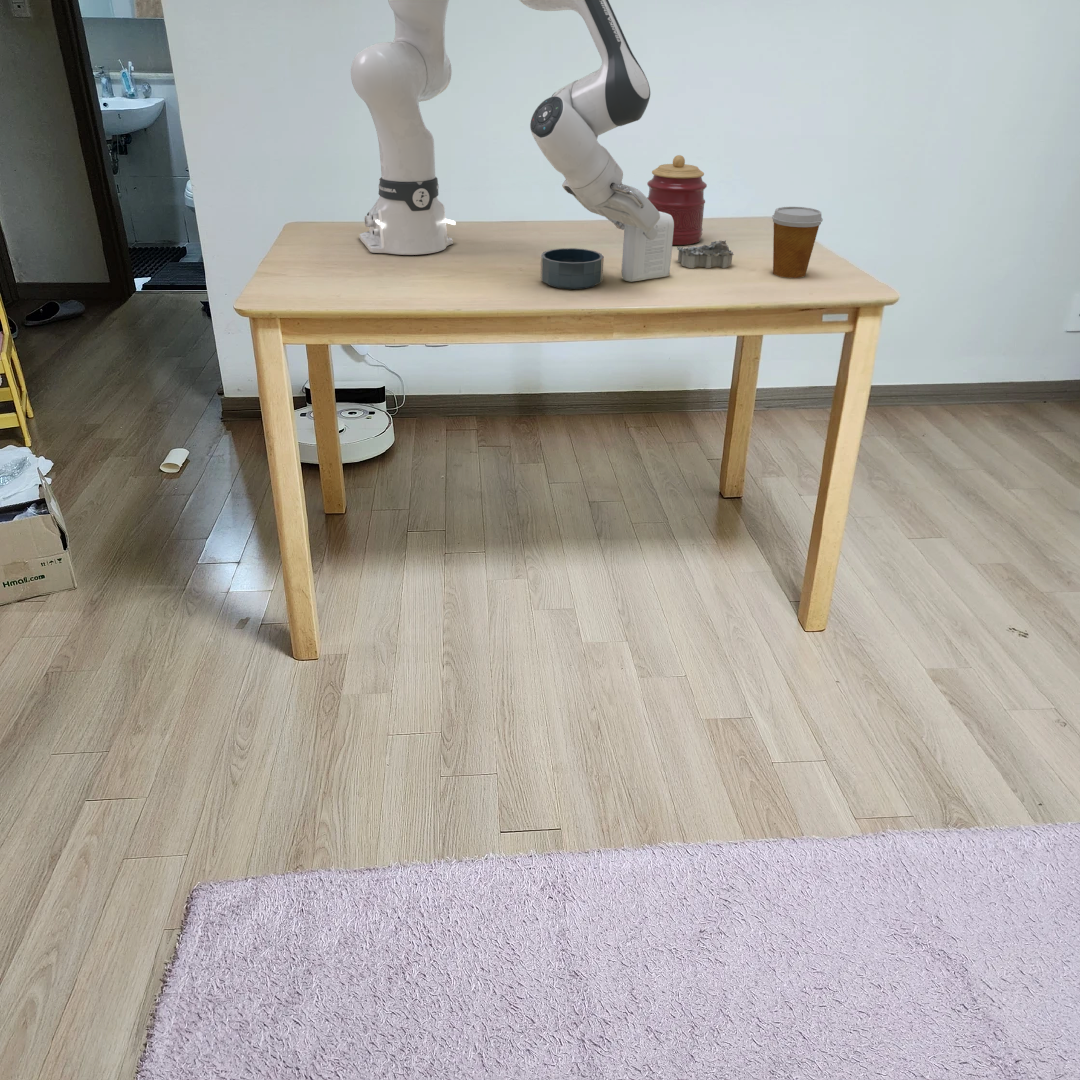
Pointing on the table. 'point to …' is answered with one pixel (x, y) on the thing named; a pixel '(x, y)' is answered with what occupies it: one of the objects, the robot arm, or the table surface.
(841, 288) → the table surface
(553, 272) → the bowl
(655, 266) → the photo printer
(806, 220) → the disposable coffee cup
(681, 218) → the kitchen canister
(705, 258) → the grey packaging insert
